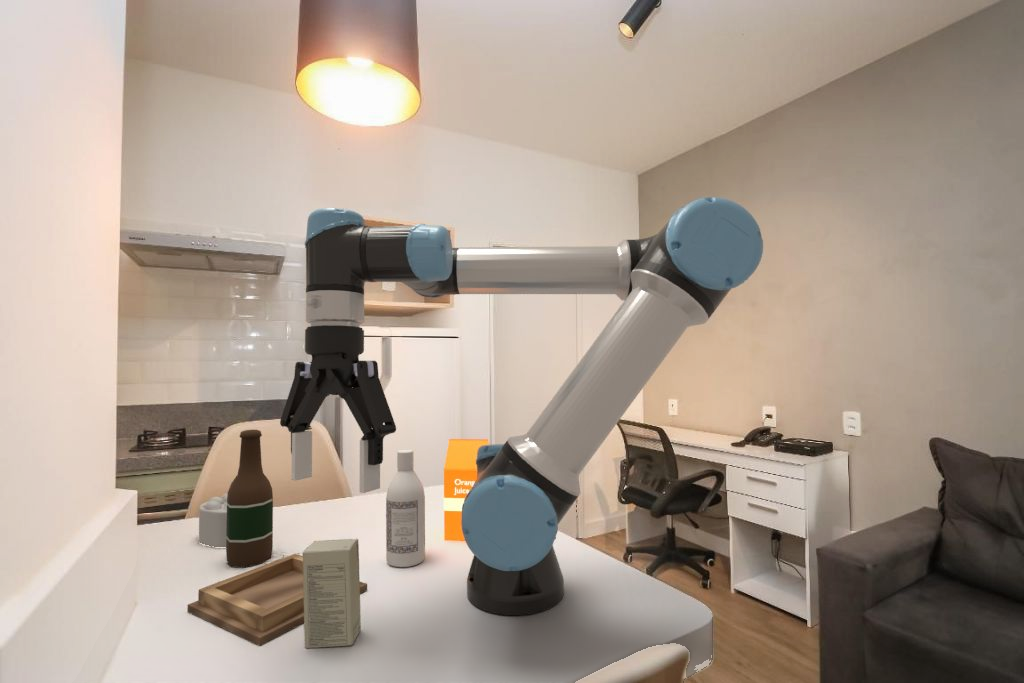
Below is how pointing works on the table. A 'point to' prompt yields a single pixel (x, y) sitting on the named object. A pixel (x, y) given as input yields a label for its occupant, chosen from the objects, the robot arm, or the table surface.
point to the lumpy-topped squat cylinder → (213, 521)
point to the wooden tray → (257, 601)
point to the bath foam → (405, 515)
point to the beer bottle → (249, 508)
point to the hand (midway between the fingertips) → (334, 484)
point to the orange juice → (458, 482)
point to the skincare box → (331, 593)
